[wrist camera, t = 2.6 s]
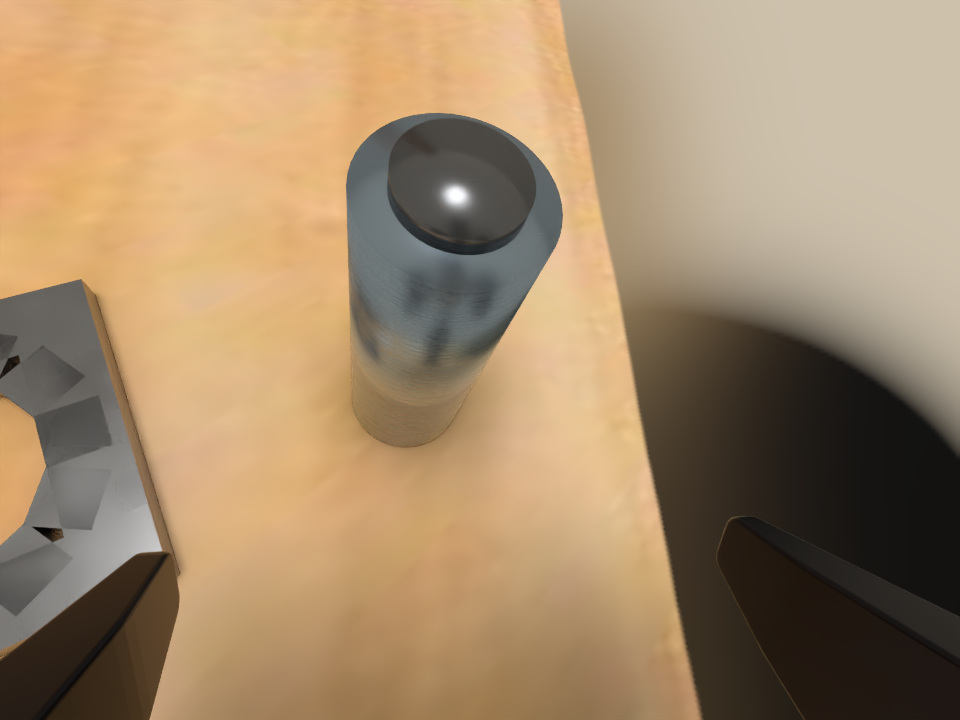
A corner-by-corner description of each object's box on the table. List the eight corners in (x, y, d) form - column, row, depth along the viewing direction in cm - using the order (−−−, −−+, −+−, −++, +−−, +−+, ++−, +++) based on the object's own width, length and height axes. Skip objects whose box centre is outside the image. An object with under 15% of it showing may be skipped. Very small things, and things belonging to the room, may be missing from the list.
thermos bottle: (475, 421, 23) (613, 236, 10) (377, 465, 21) (406, 304, 9) (431, 334, 24) (508, 76, 12) (335, 368, 22) (309, 110, 10)
